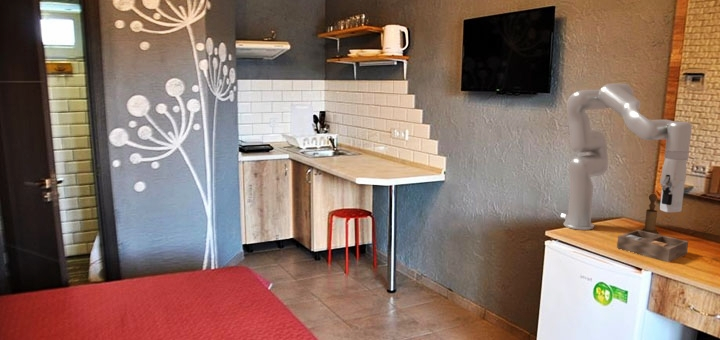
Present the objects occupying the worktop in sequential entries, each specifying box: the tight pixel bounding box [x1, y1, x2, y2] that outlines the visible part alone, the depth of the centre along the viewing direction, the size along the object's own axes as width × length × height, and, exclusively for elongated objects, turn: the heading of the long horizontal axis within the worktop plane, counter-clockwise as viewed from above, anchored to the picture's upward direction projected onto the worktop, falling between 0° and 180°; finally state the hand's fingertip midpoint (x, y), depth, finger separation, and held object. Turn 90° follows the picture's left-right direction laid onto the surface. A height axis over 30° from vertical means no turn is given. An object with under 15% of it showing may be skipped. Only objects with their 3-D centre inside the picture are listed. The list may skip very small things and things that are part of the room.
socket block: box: [616, 229, 689, 263], centre depth 205 cm, size 19×15×5 cm
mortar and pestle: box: [640, 193, 659, 234], centre depth 223 cm, size 7×6×18 cm
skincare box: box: [659, 179, 686, 213], centre depth 199 cm, size 6×4×12 cm
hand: (671, 202), depth 200 cm, fingers closed on skincare box, 7 cm apart
